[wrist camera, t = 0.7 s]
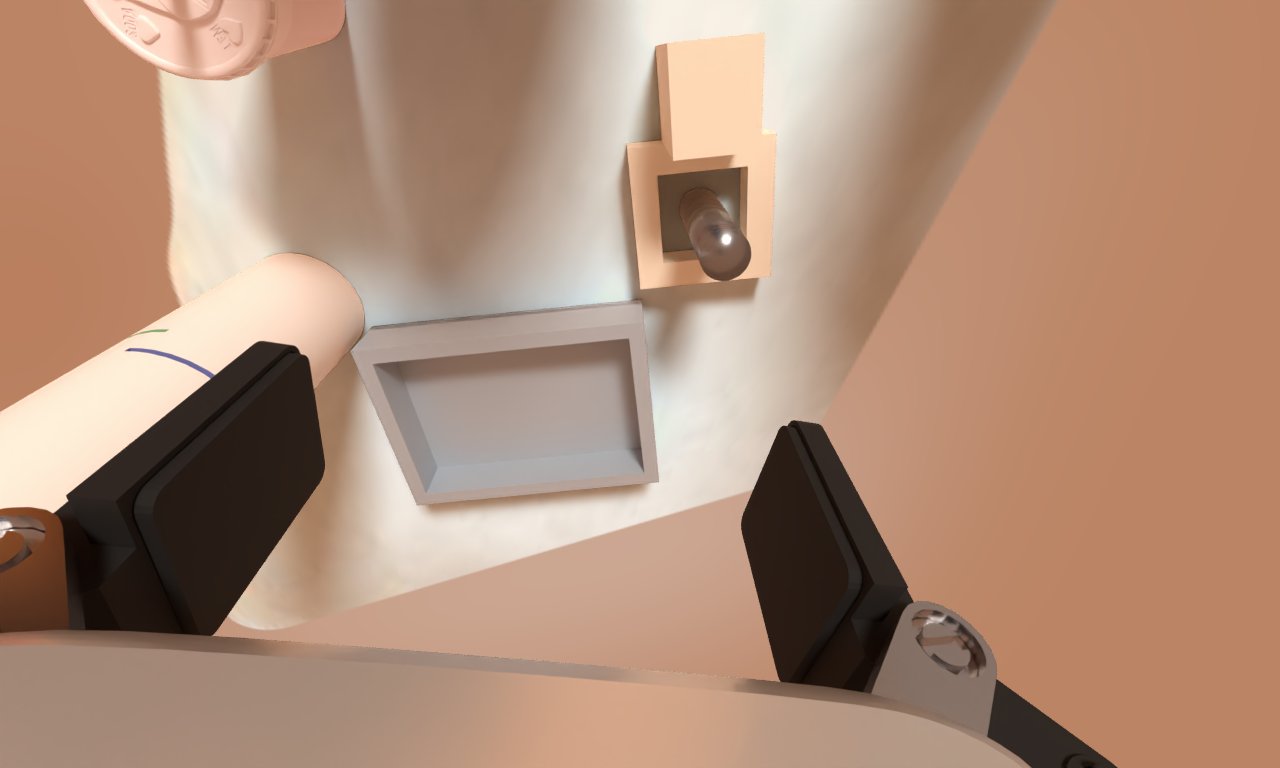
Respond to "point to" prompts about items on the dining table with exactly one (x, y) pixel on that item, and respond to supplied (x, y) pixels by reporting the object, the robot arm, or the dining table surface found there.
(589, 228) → the dining table surface
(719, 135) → the beige stepped block
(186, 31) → the smoothie
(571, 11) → the dining table surface
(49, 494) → the cylindrical container
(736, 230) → the post
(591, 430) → the tray
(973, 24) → the dining table surface
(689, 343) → the dining table surface
